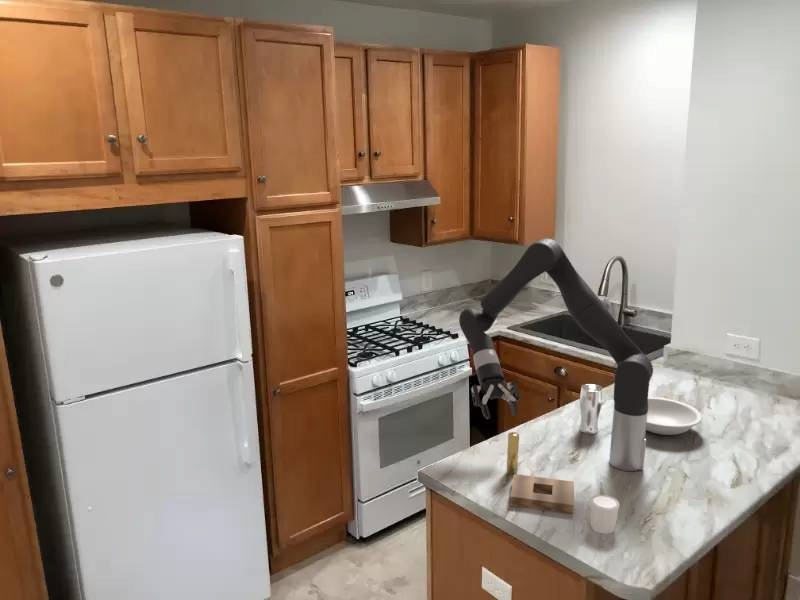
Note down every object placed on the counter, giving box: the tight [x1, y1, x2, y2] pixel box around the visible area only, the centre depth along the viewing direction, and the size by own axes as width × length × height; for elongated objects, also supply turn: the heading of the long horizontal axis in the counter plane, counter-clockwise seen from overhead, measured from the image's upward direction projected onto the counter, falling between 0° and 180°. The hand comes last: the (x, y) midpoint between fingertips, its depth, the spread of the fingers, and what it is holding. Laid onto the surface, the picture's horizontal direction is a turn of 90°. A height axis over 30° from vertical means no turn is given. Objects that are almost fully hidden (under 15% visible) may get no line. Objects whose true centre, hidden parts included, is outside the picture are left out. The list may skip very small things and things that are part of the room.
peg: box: [506, 431, 520, 477], centre depth 180 cm, size 3×3×12 cm
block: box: [509, 473, 575, 515], centre depth 169 cm, size 16×12×2 cm
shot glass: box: [589, 494, 620, 535], centre depth 155 cm, size 7×7×7 cm
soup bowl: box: [646, 396, 703, 436], centre depth 209 cm, size 24×24×7 cm
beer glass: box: [578, 383, 603, 435], centre depth 208 cm, size 7×7×15 cm
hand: (501, 416), depth 187 cm, fingers open, 8 cm apart
